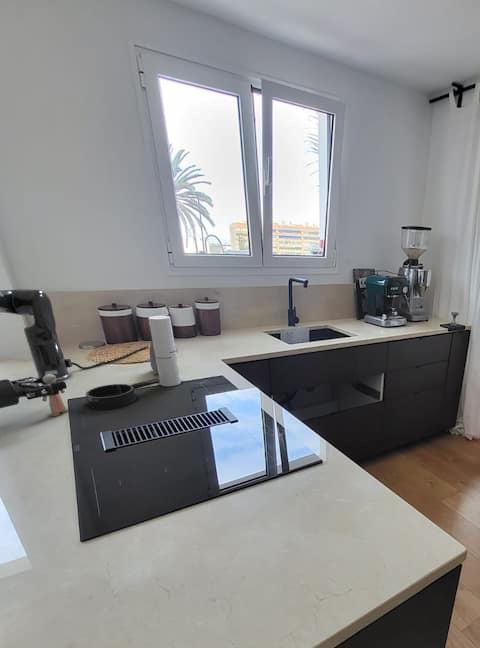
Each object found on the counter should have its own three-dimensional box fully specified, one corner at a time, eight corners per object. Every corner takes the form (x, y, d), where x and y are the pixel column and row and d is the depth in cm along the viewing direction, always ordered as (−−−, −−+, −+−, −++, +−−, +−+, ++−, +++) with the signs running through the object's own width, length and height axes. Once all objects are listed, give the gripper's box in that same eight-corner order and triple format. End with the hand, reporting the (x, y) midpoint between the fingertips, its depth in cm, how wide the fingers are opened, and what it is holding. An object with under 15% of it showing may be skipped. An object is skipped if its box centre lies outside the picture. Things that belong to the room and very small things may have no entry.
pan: (99, 395, 138) (96, 384, 136) (141, 393, 140) (138, 383, 138) (81, 410, 125) (78, 398, 124) (127, 408, 128) (124, 397, 126)
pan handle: (131, 390, 136) (130, 385, 135) (128, 389, 137) (127, 384, 136) (161, 382, 144) (160, 378, 143) (158, 381, 145) (157, 377, 144)
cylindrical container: (184, 382, 153) (174, 317, 143) (169, 387, 147) (157, 319, 137) (171, 379, 155) (160, 315, 145) (156, 384, 149) (143, 317, 140)
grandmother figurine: (59, 417, 120) (47, 377, 115) (45, 417, 119) (32, 377, 114) (73, 407, 127) (62, 370, 122) (61, 408, 126) (49, 370, 121)
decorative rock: (151, 369, 166) (144, 334, 160) (167, 367, 170) (161, 332, 164) (158, 380, 154) (151, 342, 148) (176, 377, 158) (170, 340, 152)
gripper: (-4, 388, 103) (66, 374, 116) (-21, 378, 111) (46, 365, 123) (6, 414, 106) (73, 398, 119) (-12, 402, 114) (53, 388, 126)
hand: (59, 381), depth 121 cm, fingers open, 8 cm apart
